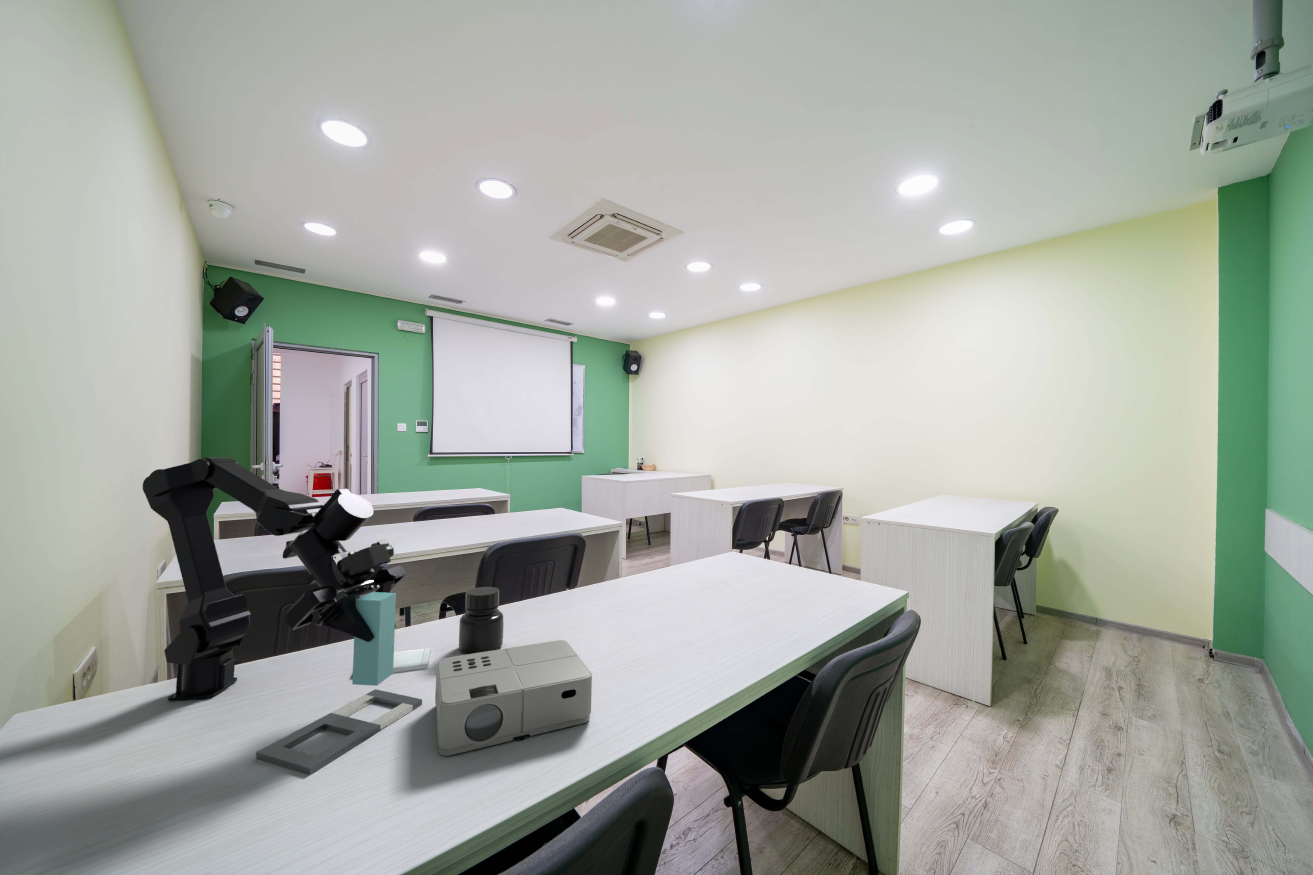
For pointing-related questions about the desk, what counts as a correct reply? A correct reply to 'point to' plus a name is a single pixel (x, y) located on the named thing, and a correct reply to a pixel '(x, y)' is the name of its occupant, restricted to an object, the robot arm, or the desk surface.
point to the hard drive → (411, 660)
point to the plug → (375, 639)
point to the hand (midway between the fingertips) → (382, 634)
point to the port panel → (340, 724)
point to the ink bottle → (481, 621)
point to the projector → (509, 695)
